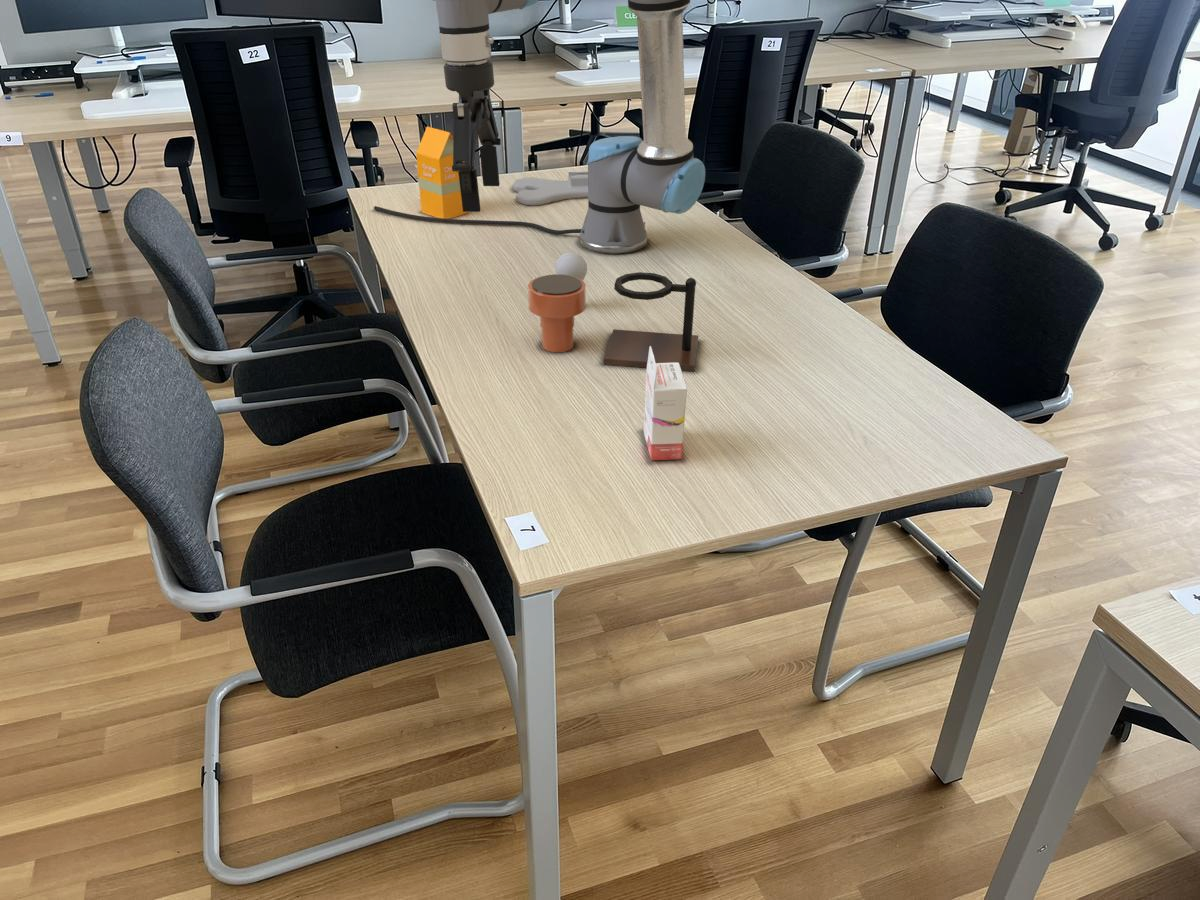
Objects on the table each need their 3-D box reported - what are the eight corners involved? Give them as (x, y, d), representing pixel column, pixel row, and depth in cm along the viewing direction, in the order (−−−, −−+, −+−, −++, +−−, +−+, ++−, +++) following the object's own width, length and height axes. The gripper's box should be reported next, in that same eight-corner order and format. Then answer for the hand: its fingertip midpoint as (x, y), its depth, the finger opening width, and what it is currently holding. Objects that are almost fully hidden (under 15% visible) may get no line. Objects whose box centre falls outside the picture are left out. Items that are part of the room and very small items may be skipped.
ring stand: (610, 355, 159) (611, 284, 152) (617, 332, 167) (619, 263, 160) (689, 361, 157) (694, 289, 150) (693, 337, 165) (698, 268, 158)
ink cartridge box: (683, 460, 133) (690, 370, 126) (649, 461, 133) (654, 371, 125) (674, 429, 141) (680, 342, 133) (642, 430, 140) (646, 343, 132)
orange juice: (443, 220, 222) (436, 135, 211) (420, 212, 227) (413, 128, 216) (468, 212, 227) (463, 129, 216) (445, 205, 232) (439, 123, 221)
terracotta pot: (518, 347, 164) (515, 285, 158) (554, 328, 171) (553, 268, 164) (560, 363, 159) (559, 300, 153) (596, 343, 166) (597, 282, 159)
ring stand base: (603, 364, 159) (603, 358, 158) (613, 335, 169) (613, 329, 168) (694, 371, 157) (694, 365, 156) (698, 341, 167) (698, 335, 166)
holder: (650, 200, 236) (651, 181, 234) (518, 206, 231) (517, 187, 228) (635, 179, 252) (635, 161, 249) (511, 185, 247) (510, 166, 244)
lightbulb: (592, 304, 180) (592, 250, 174) (578, 316, 176) (578, 261, 170) (564, 298, 183) (563, 245, 177) (550, 310, 178) (549, 255, 172)
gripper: (471, 77, 130) (486, 223, 142) (509, 46, 151) (519, 175, 162) (420, 77, 131) (439, 222, 143) (464, 47, 152) (478, 175, 163)
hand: (482, 198), depth 152 cm, fingers open, 13 cm apart
